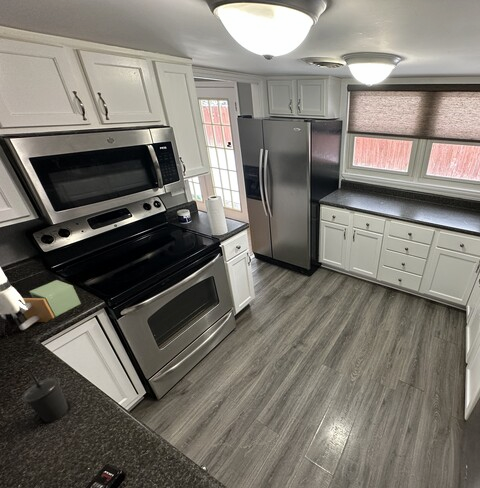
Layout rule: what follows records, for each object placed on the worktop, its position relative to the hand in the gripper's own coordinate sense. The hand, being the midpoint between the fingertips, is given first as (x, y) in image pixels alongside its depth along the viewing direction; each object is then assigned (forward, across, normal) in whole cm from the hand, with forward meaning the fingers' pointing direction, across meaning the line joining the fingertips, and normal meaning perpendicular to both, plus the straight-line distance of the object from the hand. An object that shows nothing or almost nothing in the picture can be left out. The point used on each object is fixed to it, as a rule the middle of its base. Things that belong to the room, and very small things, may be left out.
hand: (18, 323), depth 109 cm
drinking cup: (+5, +42, -41) cm, 58 cm away
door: (+5, +1, +4) cm, 7 cm away
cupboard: (+6, +5, +14) cm, 16 cm away
